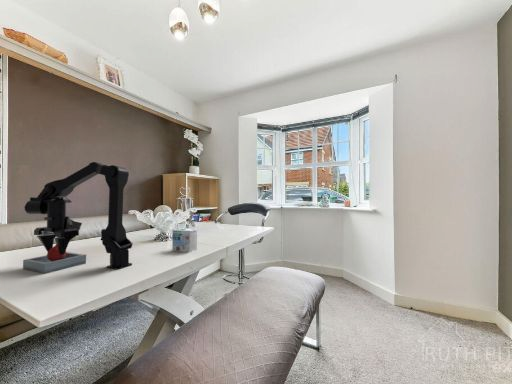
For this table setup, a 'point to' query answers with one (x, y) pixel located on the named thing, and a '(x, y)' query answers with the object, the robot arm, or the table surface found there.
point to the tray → (53, 263)
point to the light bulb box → (184, 240)
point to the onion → (55, 254)
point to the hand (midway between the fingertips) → (56, 253)
